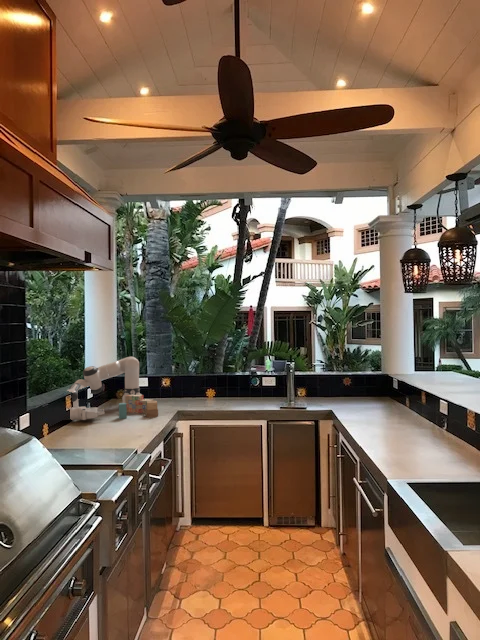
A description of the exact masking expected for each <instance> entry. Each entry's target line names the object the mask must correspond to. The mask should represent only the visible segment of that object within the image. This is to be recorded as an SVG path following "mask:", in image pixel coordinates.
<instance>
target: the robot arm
mask: <svg viewBox="0 0 480 640" xmlns="http://www.w3.org/2000/svg"><path fill="white" fill-rule="evenodd" d="M82 373H83V374H82V375H83V378H84V379H82V378H81V379H80V378H79V379H77V380H75V382H74V383H72V384H71V386H69V388H68V389H66V391H69V392H72V393H73V395H72V402H73V407H72V408H71V409H70V419H71V420H72V421H74V420H75V421H76V420H77V421H79V420H80V421H86V420H87V419H93V418H94V419H96V418H98V416H101V415H105V409H104V408H98V407H96V406H95V407H93V406H92V407H86V406H85V405H84V406H79V399H78V390H79V389H82V388H84V387H87V386H90V389H91V393H90V394H93V395H97V394H99V393H101V392H102V391H103V383H102V381H103V380H107V379H110V378H113V377H114V378H115V377H116V376H120V375H122V374H124V393H123V395H122V397H121V400H122V401H121V403H125V396H127V395H143V394H142V393H140V392H141V391H140V390H141V388H140V361H139V359H138V358H136V357H135V356H127V357H123V358H121V359H117V360H115V361H113V362H109V363H107V364H103V365H101V366H98V367H96V366H93V365H90V366H87V367H85V368H84V369H83V370H82Z"/></svg>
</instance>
